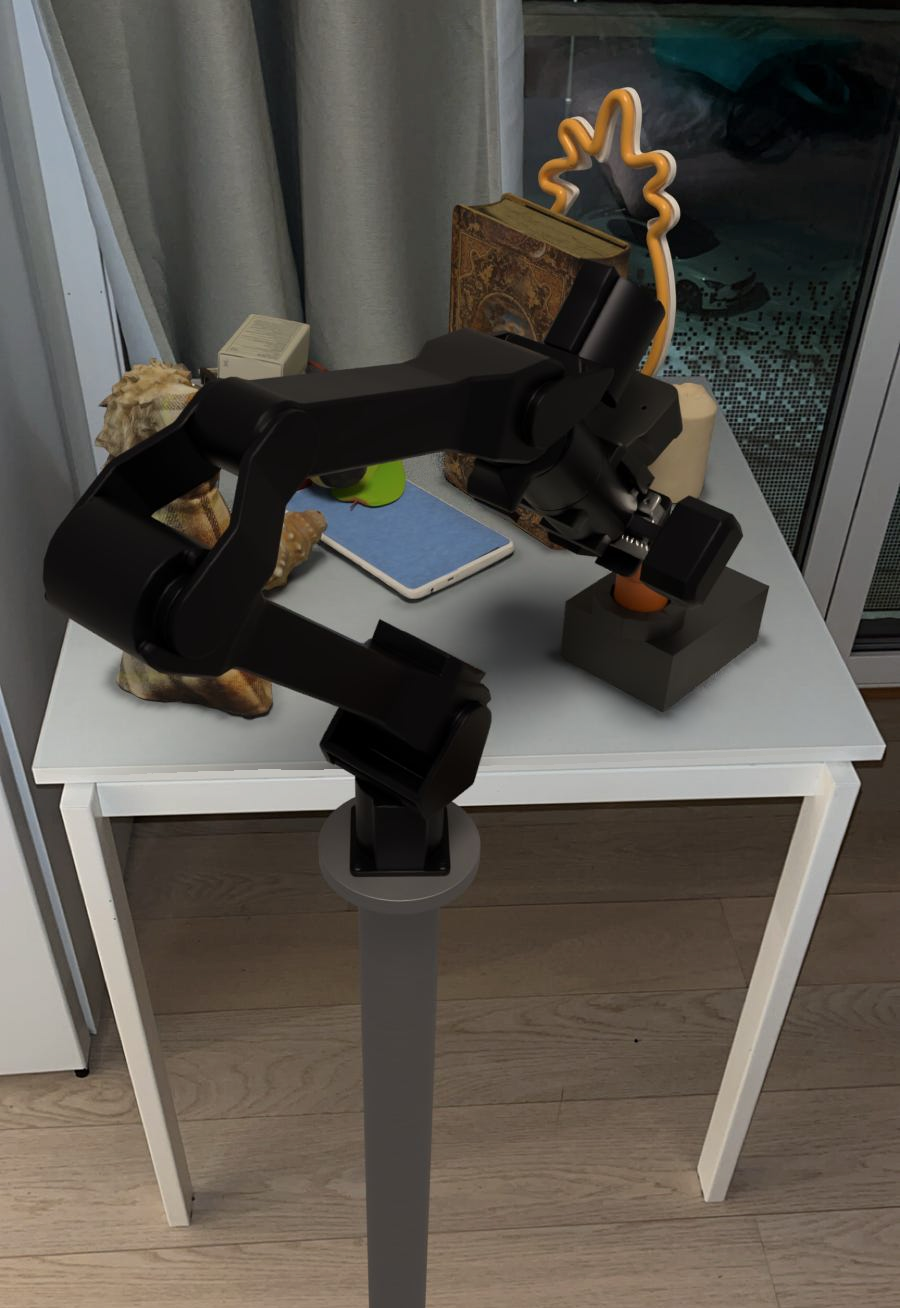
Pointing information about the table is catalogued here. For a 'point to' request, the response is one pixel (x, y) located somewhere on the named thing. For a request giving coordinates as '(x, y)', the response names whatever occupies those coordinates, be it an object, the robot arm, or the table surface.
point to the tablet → (406, 538)
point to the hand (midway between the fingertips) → (641, 555)
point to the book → (517, 284)
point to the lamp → (597, 143)
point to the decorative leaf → (376, 485)
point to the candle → (686, 446)
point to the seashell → (296, 542)
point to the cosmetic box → (265, 349)
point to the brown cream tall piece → (201, 514)
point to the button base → (661, 637)
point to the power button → (637, 594)
